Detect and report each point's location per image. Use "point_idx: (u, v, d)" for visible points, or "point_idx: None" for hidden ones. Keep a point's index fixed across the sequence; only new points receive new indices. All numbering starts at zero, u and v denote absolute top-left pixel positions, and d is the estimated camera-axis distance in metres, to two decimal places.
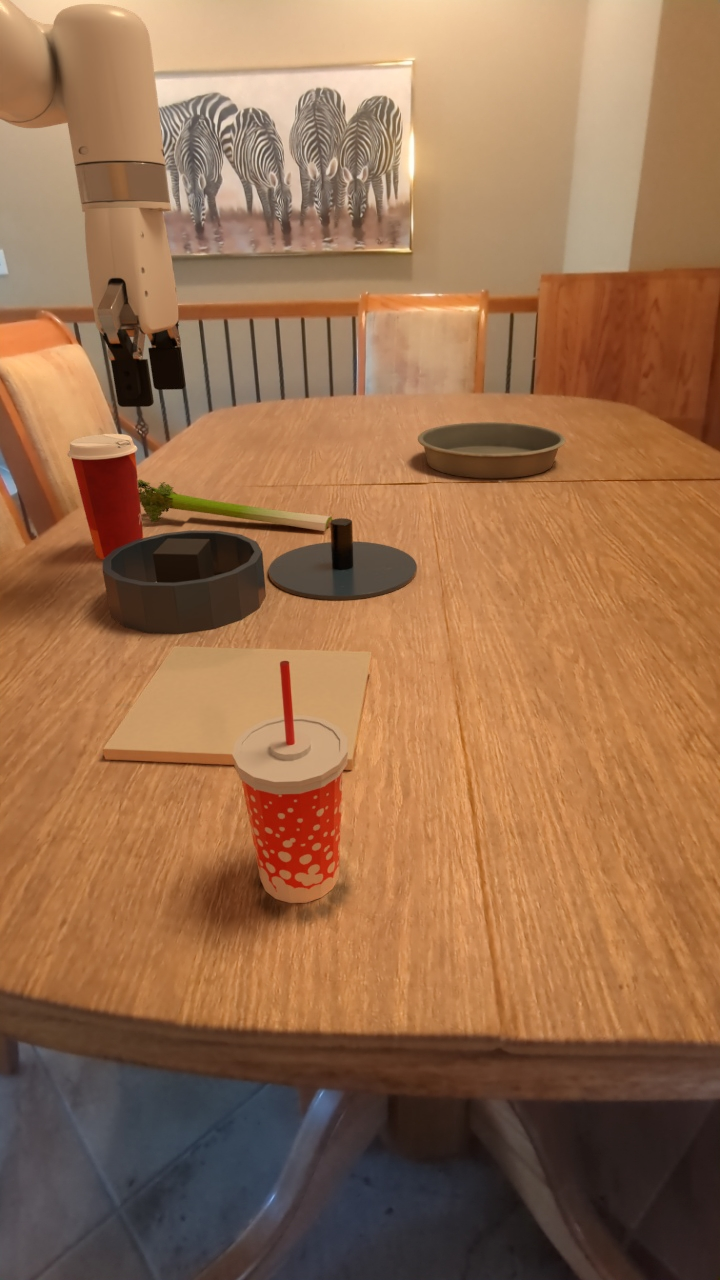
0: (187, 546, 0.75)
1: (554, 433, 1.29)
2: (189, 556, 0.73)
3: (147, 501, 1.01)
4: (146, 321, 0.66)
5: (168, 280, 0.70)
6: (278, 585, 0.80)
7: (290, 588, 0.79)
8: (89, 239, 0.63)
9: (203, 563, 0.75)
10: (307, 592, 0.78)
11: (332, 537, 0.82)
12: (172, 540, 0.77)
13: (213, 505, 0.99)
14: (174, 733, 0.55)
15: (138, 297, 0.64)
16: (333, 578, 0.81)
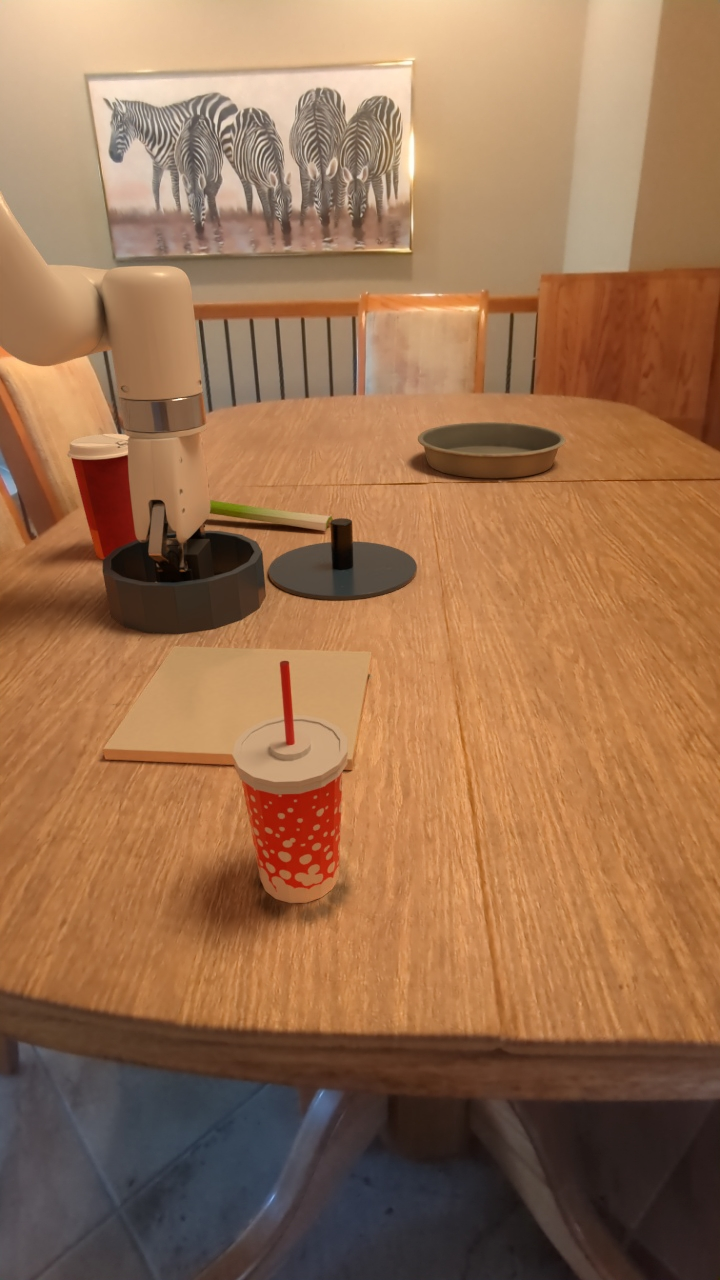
0: (187, 546, 0.75)
1: (554, 433, 1.29)
2: (189, 556, 0.73)
3: None
4: (183, 534, 0.70)
5: (202, 485, 0.74)
6: (278, 585, 0.80)
7: (290, 588, 0.79)
8: (132, 466, 0.68)
9: (203, 563, 0.75)
10: (307, 592, 0.78)
11: (332, 537, 0.82)
12: None
13: (213, 505, 0.99)
14: (174, 733, 0.55)
15: (176, 515, 0.69)
16: (333, 578, 0.81)
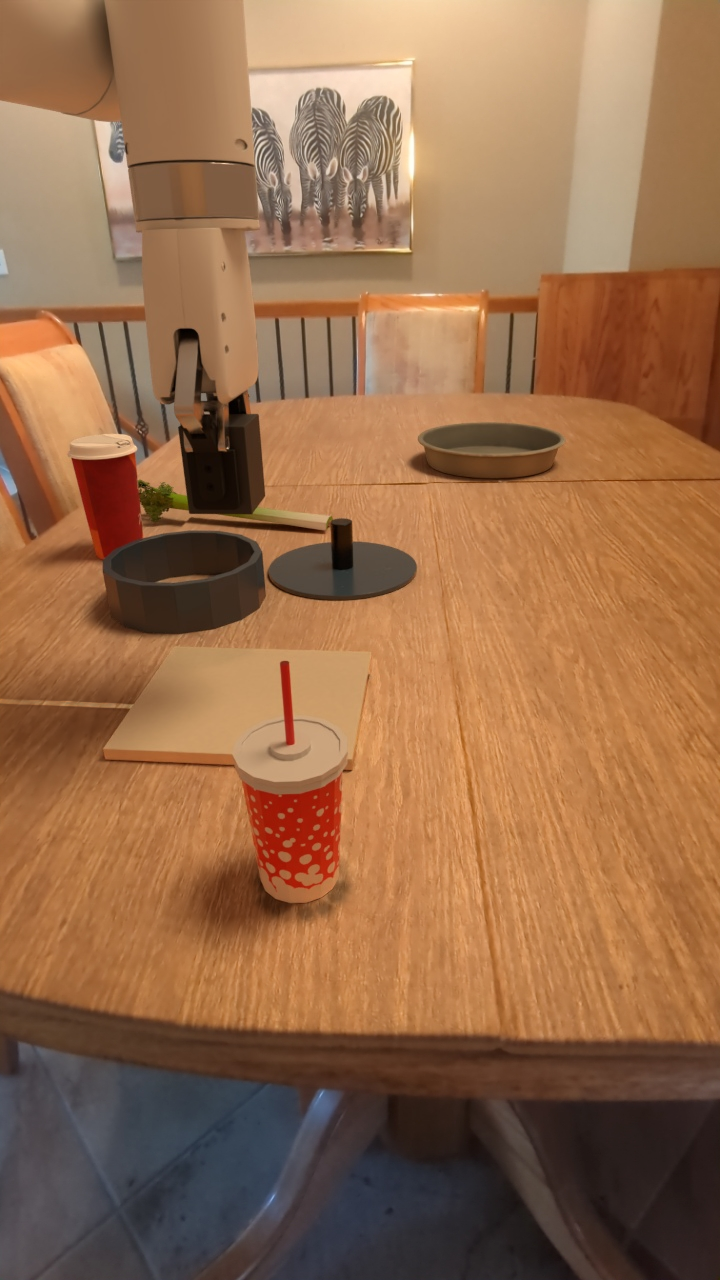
0: None
1: (554, 433, 1.29)
2: (232, 429, 0.50)
3: (147, 501, 1.01)
4: (225, 388, 0.46)
5: (250, 326, 0.50)
6: (278, 585, 0.80)
7: (290, 588, 0.79)
8: (148, 273, 0.44)
9: (251, 445, 0.51)
10: (307, 592, 0.78)
11: (332, 537, 0.82)
12: None
13: None
14: (174, 733, 0.55)
15: (216, 355, 0.45)
16: (333, 578, 0.81)
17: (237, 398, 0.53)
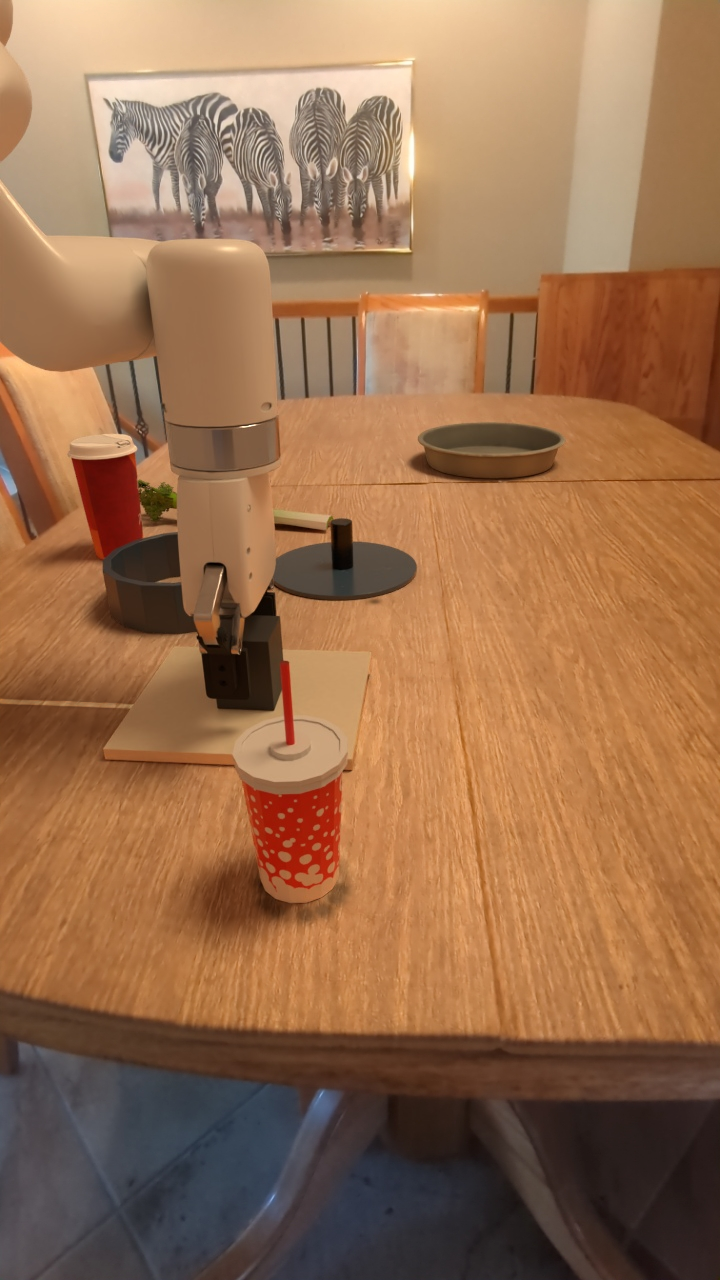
0: (252, 627, 0.57)
1: (554, 433, 1.29)
2: (258, 644, 0.55)
3: (147, 501, 1.01)
4: (249, 607, 0.52)
5: (270, 536, 0.55)
6: (278, 585, 0.80)
7: (290, 588, 0.79)
8: (182, 516, 0.49)
9: (273, 651, 0.57)
10: (307, 592, 0.78)
11: (332, 537, 0.82)
12: None
13: None
14: (174, 733, 0.55)
15: (241, 583, 0.50)
16: (333, 578, 0.81)
17: None
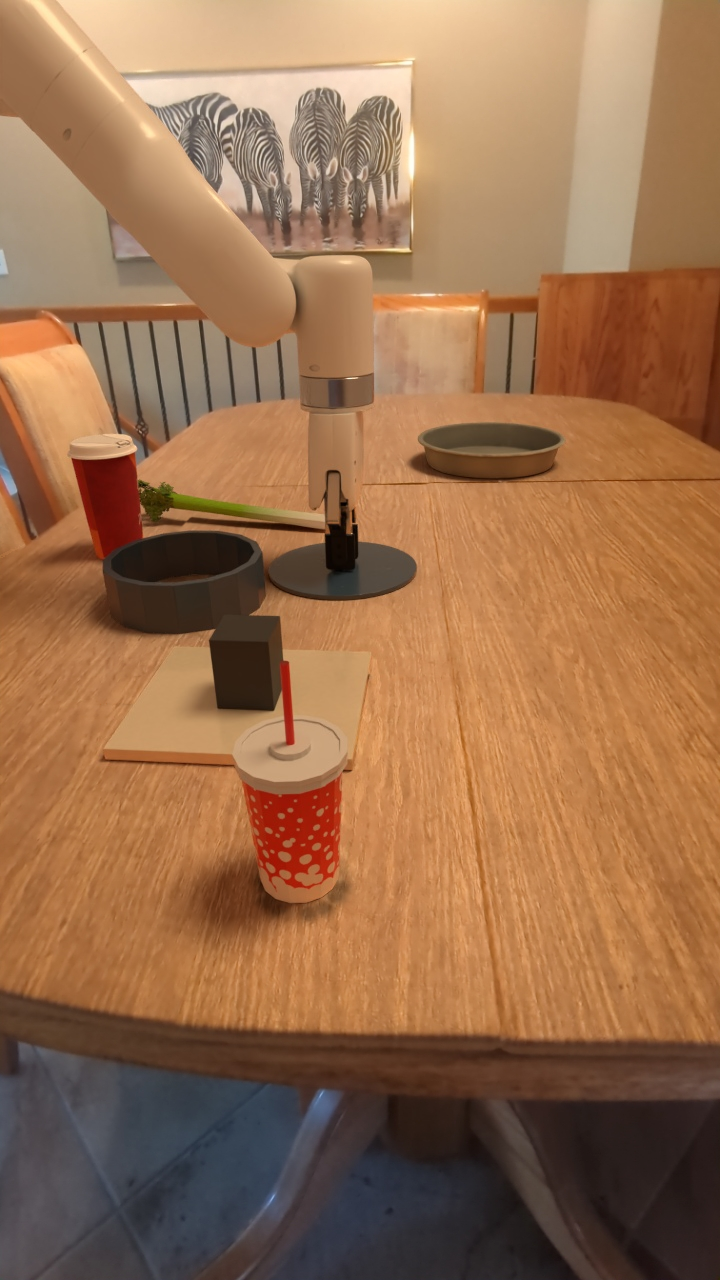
0: (252, 627, 0.57)
1: (554, 433, 1.29)
2: (258, 644, 0.55)
3: (148, 501, 1.01)
4: (353, 502, 0.76)
5: (363, 458, 0.80)
6: (278, 585, 0.80)
7: (290, 588, 0.79)
8: (312, 438, 0.74)
9: (273, 651, 0.57)
10: (307, 592, 0.78)
11: None
12: (231, 618, 0.59)
13: (214, 504, 1.00)
14: (174, 733, 0.55)
15: (350, 484, 0.75)
16: (333, 578, 0.81)
17: None
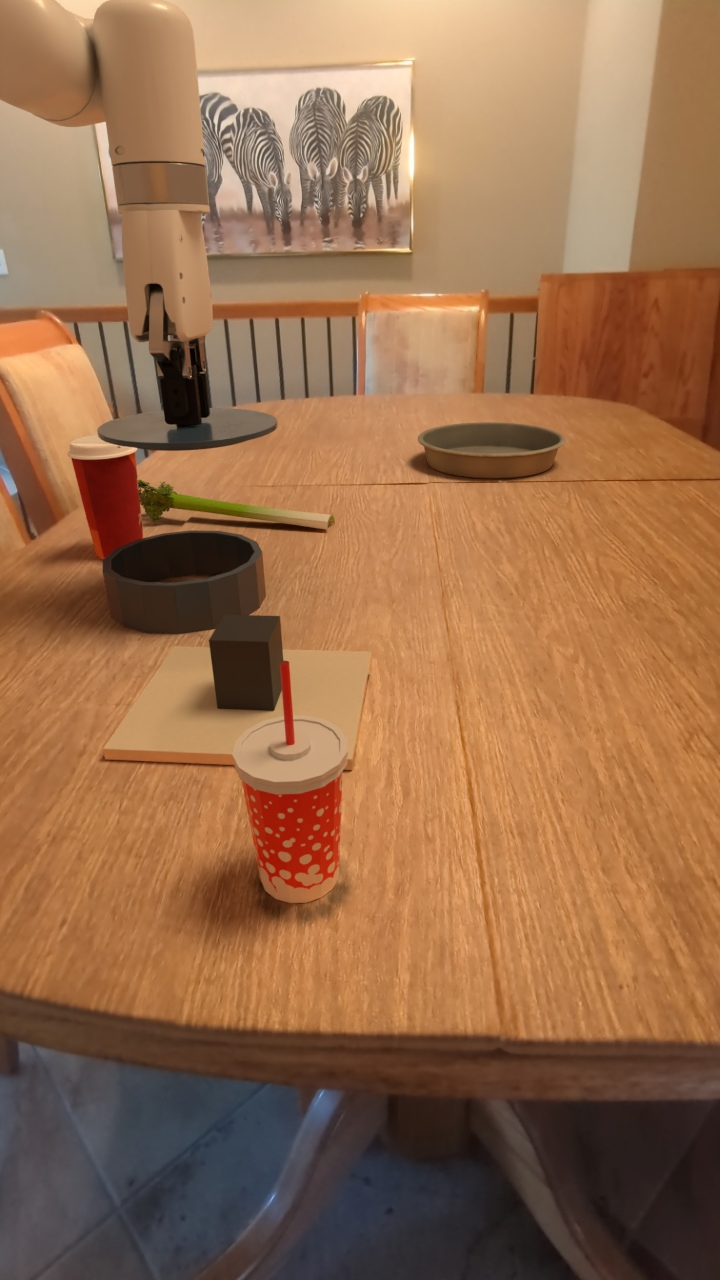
0: (252, 627, 0.57)
1: (554, 433, 1.29)
2: (258, 644, 0.55)
3: (148, 501, 1.01)
4: (183, 328, 0.63)
5: (204, 285, 0.67)
6: (102, 437, 0.67)
7: (113, 438, 0.66)
8: (126, 242, 0.60)
9: (273, 651, 0.57)
10: (130, 441, 0.65)
11: None
12: (231, 618, 0.59)
13: (214, 504, 1.00)
14: (174, 733, 0.55)
15: (175, 303, 0.62)
16: (170, 431, 0.68)
17: (194, 343, 0.69)
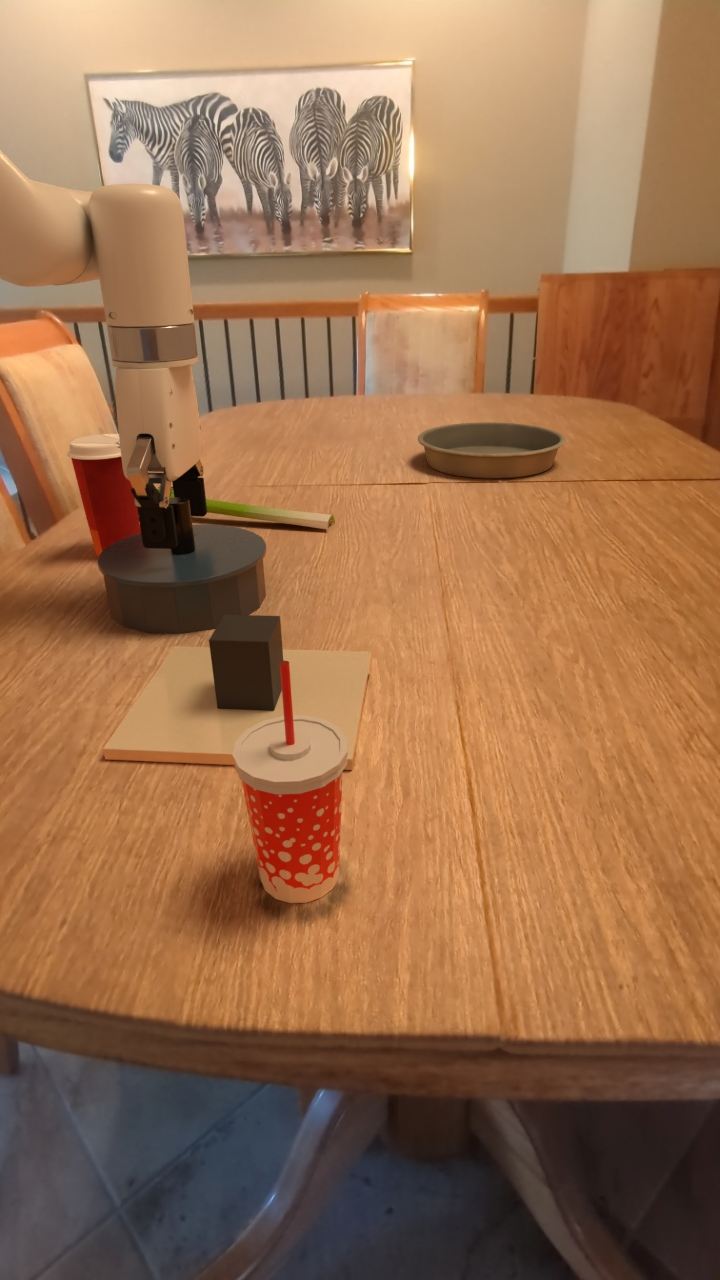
0: (252, 627, 0.57)
1: (554, 433, 1.29)
2: (258, 644, 0.55)
3: None
4: (173, 471, 0.67)
5: (194, 423, 0.71)
6: (102, 571, 0.72)
7: (112, 574, 0.70)
8: (119, 397, 0.65)
9: (273, 651, 0.57)
10: (128, 579, 0.69)
11: None
12: (231, 618, 0.59)
13: (214, 504, 1.00)
14: (174, 733, 0.55)
15: (165, 451, 0.66)
16: (165, 563, 0.73)
17: None
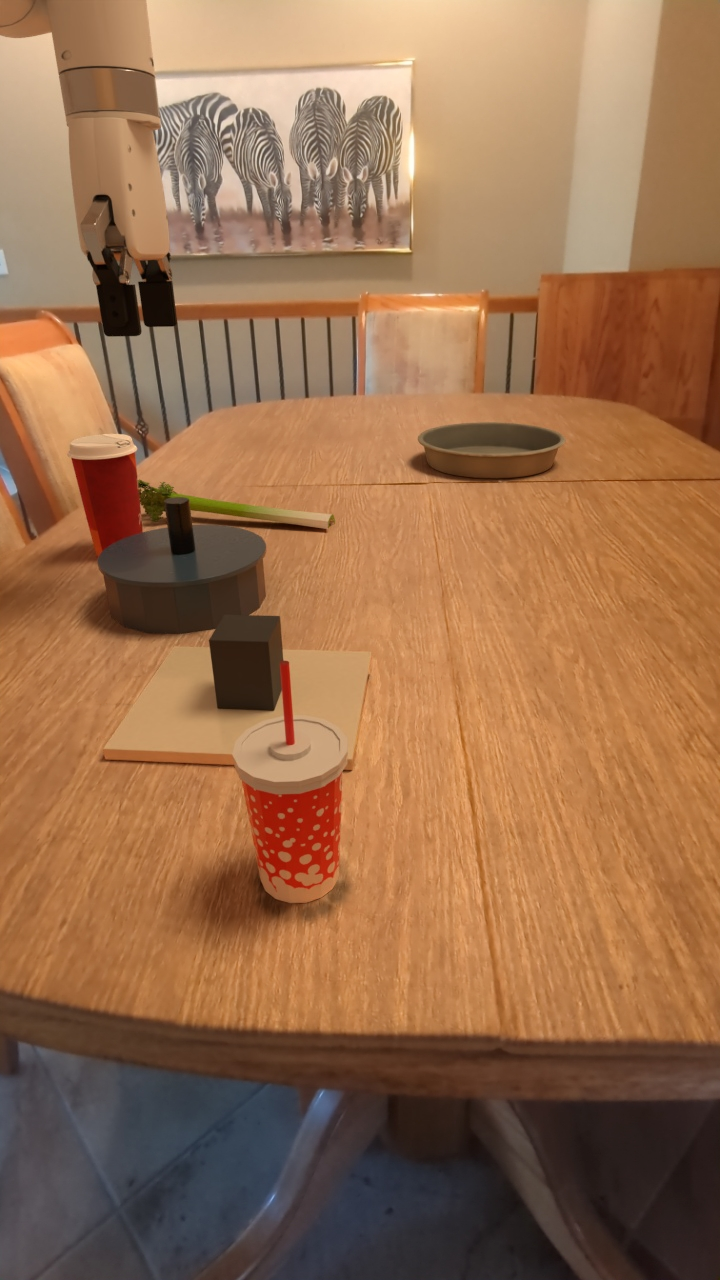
0: (252, 627, 0.57)
1: (554, 433, 1.29)
2: (258, 644, 0.55)
3: (148, 501, 1.01)
4: (133, 243, 0.62)
5: (158, 204, 0.66)
6: (102, 571, 0.72)
7: (112, 574, 0.70)
8: (73, 152, 0.59)
9: (273, 651, 0.57)
10: (128, 579, 0.69)
11: (167, 518, 0.74)
12: (231, 618, 0.59)
13: (214, 504, 1.00)
14: (174, 733, 0.55)
15: (124, 215, 0.61)
16: (165, 563, 0.73)
17: (157, 259, 0.70)
